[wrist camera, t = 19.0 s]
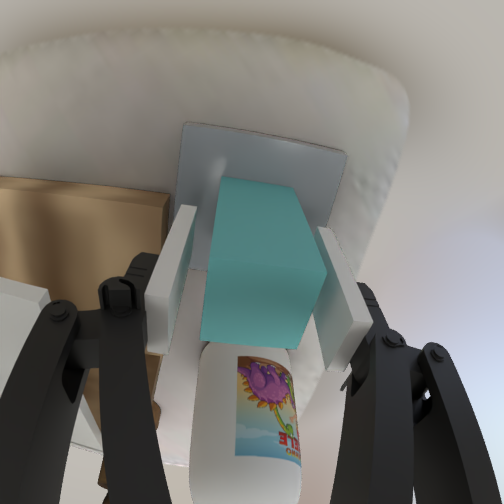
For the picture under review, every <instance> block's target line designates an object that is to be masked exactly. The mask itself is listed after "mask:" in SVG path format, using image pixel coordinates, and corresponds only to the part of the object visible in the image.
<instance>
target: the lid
mask: <svg viewBox="0 0 504 504" xmlns="http://www.w3.org/2000/svg"><path fill="white" fill-rule="evenodd" d="M50 302H51V300H50V296H49V292H48V289H45V288H41V287H37V286H33V285H29V284H25V283H21V282H18V281H14V280H10V279H6V278H3V277H0V397H1V395H2V392H3V390H4V387H5V385H6V383H7V380H8V378H9V376H10V373H11V371H12V369H13V367H14V364H15V362H16V360H17V358H18V356H19V354H20V351H21V349H22V347H23V345H24V343H25V341H26V339H27V337H28V335H29V333H30V331H31V329H32V327H33V325H34V324H35V322H36V320H37V318H38V316H39V314H40V312H41V311H42V309H43V308H44V307H45V305H47V304H48V303H50ZM70 446H74V447H77V448H80V449H83V450H86V451H89V452H93V453H96V454H100V455H103V447H102V436H101V432H100V430H99V428H98V426H97V424H96V421H95V419H94V417H93V415H92V413H91V411H90V409H89V406H88V404H87V402H86V400H85V397H84V395H82V398H81V402H80V406H79V410H78V413H77V417H76V421H75V425H74V429H73V434H72V438H71V442H70Z"/></svg>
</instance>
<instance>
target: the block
mask: <svg viewBox="0 0 504 504" xmlns="http://www.w3.org/2000/svg"><path fill="white" fill-rule="evenodd" d="M326 275H327V270H326V267H325V265H324V262H323V260H322V257H321V255H320V252H319V250H318V247H317V244H316V242H315V239H314V237H313V234H312V232H311V230H310V227H309V225H308V222H307V220H306V217H305V215H304V213H303V210H302V208H301V205H300V203H299V201H298V198H297V196H296V194H295V191H294V189H293V188H291V187H286V186H280V185H274V184H268V183H262V182H256V181H250V180H244V179H237V178H230V177H224V176H222V177H221V183H220V189H219V195H218V202H217V208H216V215H215V221H214V228H213V235H212V242H211V249H210V256H209V264H208V272H207V280H206V288H205V296H204V305H203V313H202V322H201V332H200V340H202V341H210V342H219V343H228V344H238V345H248V346H259V347H271V348H285V349H297V347H298V345H299V342H300V340H301V337H302V335H303V333H304V330H305V328H306V326H307V323H308V321H309V318H310V316H311V313H312V311H313V308H314V306H315V303H316V301H317V298H318V296H319V293H320V291H321V288H322V286H323V283H324V280H325V278H326Z"/></svg>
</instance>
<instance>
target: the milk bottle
mask: <svg viewBox="0 0 504 504" xmlns="http://www.w3.org/2000/svg"><path fill="white" fill-rule="evenodd" d="M301 481H302V472H301V454H300V444H299V434H298V424H297V415H296V406H295V397H294V389H293V381H292V373H291V366H290V360H289V355H288V353H287V351H286V349H285V348H271V347H259V346H248V345H238V344H228V343H219V342H210V343H209V344H208V345H207V346H206V347H205V348H204V350H203V352H202V354H201V357H200V363H199V370H198V378H197V386H196V395H195V404H194V414H193V424H192V435H191V446H190V462H189V484H190V491H191V496H192V500H193V503H194V504H298V500H299V497H300V491H301Z"/></svg>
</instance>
